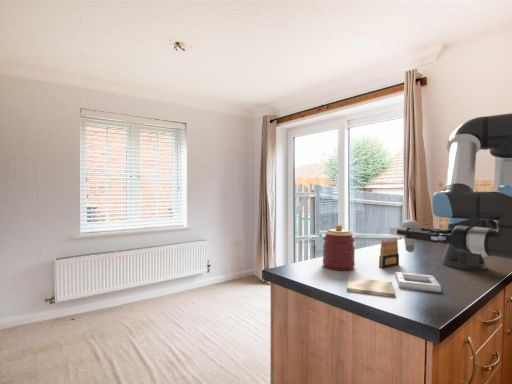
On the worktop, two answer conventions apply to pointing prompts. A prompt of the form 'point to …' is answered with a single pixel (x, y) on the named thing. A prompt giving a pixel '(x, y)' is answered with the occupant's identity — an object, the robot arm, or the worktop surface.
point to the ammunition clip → (389, 253)
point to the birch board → (370, 287)
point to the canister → (338, 249)
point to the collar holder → (429, 286)
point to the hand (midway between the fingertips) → (396, 229)
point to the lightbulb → (412, 226)
